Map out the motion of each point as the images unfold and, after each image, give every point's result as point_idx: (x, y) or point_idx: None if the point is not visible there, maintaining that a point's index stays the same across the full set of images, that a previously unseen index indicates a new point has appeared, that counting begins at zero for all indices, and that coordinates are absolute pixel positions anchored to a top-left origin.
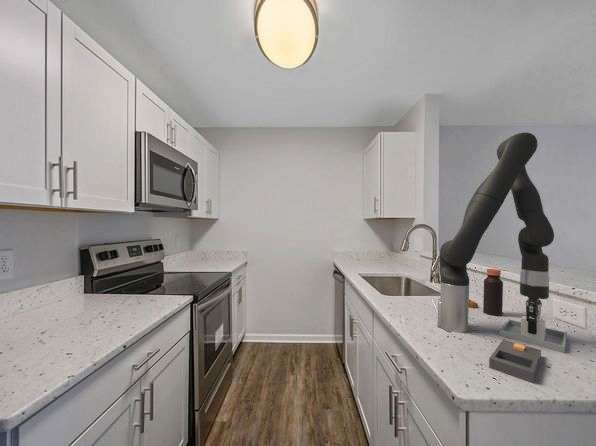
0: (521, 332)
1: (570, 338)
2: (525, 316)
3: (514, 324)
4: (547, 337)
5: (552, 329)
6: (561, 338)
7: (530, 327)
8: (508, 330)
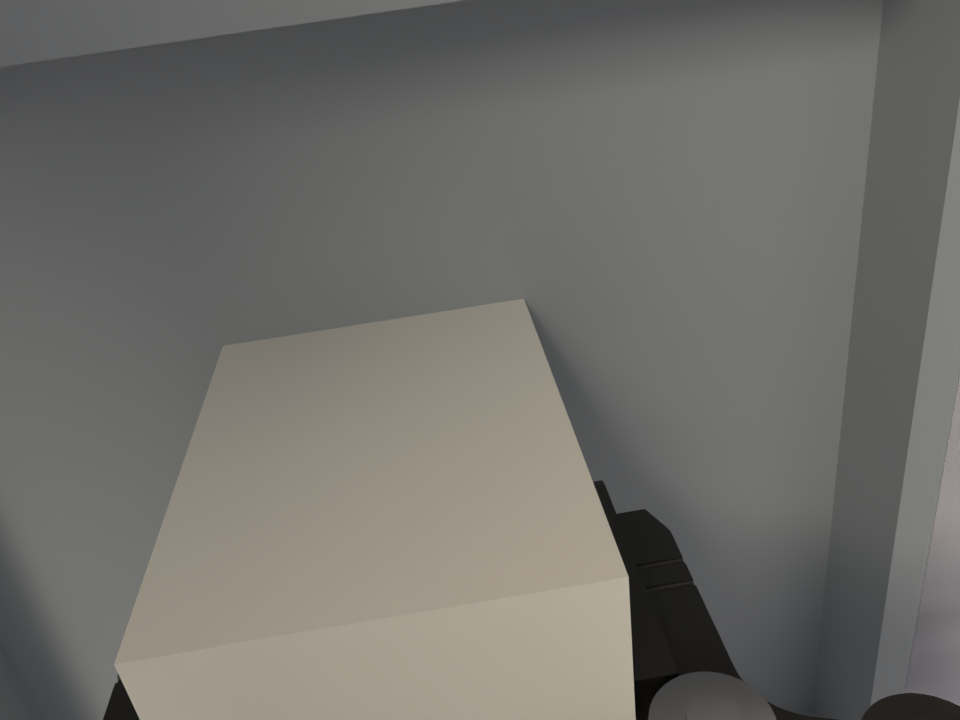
0: (214, 397)
1: (948, 700)
2: (610, 635)
3: (906, 39)
4: None
5: (900, 679)
6: None
7: (122, 710)
8: (320, 62)
